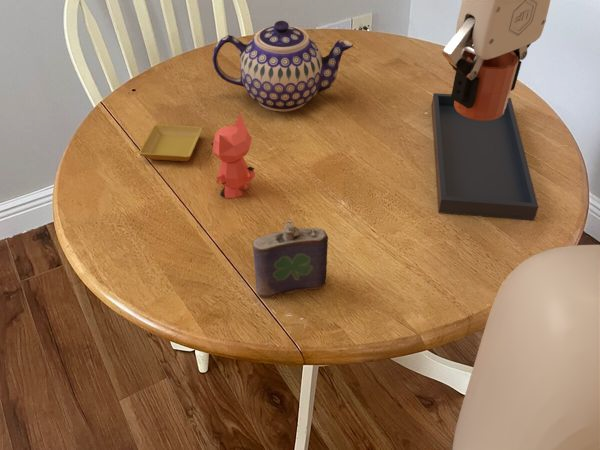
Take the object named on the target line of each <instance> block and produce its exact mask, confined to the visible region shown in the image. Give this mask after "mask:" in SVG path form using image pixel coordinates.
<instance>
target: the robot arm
mask: <svg viewBox="0 0 600 450" xmlns="http://www.w3.org/2000/svg"><path fill="white" fill-rule="evenodd" d="M550 4H551V0H461V4H460V9H459V12H458V18H457V24H456V28H455V33H454V35H453V36H452V38H451V39H450V40H449V42H448V43H447V44H446V46H444V48H443V50H442V56H443V57H444V58H445V60H446V61H447V62H448V63H449V65H450V67H452V71H454V72H455V74H454V78H453V84H452V90H451V94H452V95H451V97H452V99H453V100H455V101H457V102H458V103H460V104H461V105H463V106H465V107H466V108H468V109H469V108H471V107H473V105H474V102H475V97H476V93H477V89H478V84H479V79H480V78H478V77H476V76H477V74H478V72H479V70H480V68H481V66H482V64H483V62H484V60H488V59H492V58H495V57H498V56H500V55H503V54H506V53H508V52H511V51H514V53H515V54H516V55H517V56H518V60H519V62H518V65H517V69H516V73H515V76H514V80H513V84H512V87H511V91H510V92H512V91H514V90H515V87H516V84H517V81H518V76H519V74H520V70H521V66H522V61H524V60H525V59H526V57H527V56H528V49H529V47H530V46H531V45H532V44H533V43H535V42H537V40H539V39H540V38H541V36H542V34H543V31H544V28H545V24H546V23H547V17H548V13H549V10H550V9H549V8H550ZM473 46H474V47H473ZM470 53H471V54H473V55H475V58H474V60H473V62H472V64H471V65H470V64H469V63H468V62H467V58H468V56H469V54H470ZM476 353H477V354H476V357H475V360H474V364H473V367H472V370H471V374H470V376H469V377H470V378H469V381H468V384H467V387H466V389H465V390H466V391H465V394H464V396H463V401H462V404H461V407H460V411H459V415H458V419H457V422H456V425H455V431H454V435H453V442H452V447H451V448H452V450H600V244H578V245H566V246H565V245H564V246H558V247H553V248H549V249H546V250H543V251H540V252H537V253H536V254H533V255H531V256H529V257H528V258H526V259H524V260H523V261H522V262H520V263H519V264H518V265H517V266H516V267H515V268H514V269H513V270H512V271H511V272H510V273H509V274H508V275H507V276H506V278H505V279H504V280H503V282H502V283H501V285H500V287H499V289H498V291H497V293H496V295H495V298H494V300H493V302H492V306H491V308H490V311H489V313H488V317H487V320H486V322H485V327H484V329H483V333H482V337H481V340H480V343H479V347H478V350H477V352H476Z"/></svg>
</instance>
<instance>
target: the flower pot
mask: <svg viewBox="0 0 600 450" xmlns="http://www.w3.org/2000/svg"><path fill="white" fill-rule="evenodd" d="M472 46H473V45H472ZM473 47H474V46H473ZM474 58H475V55H473V54H471V53H470V54H469V56H468V58H467V62H468V63H469V64H470V65H471V64H472V62H473V60H474ZM518 62H519V60H518V56H517V55H516V54H515V53H514V51H511V52H508V53H506V54H503V55H500V56H498V57H495V58H492V59H488V60H484V62H483V64H482V66H481V68H480V70H479V72H478V74H477V76H476V77H478V78H480V79H479V84H478V89H477V93H476V97H475V102H474V105H473V107H471V108H469V109H468V108H466V107H465V106H463V105H461V104H460V103H458V102H457V101H455V102H454V107H455V109H456V111H457V112H458V113H460V114H461V115H463V116H464V117H467V118H469V119H473V120H478V121H490V120H495V119H498V118H499V117H501V116H502V115H503V114H504V111H505V109H506V106H507V102H508V98H510V95H511V92H512V91H511V87H512V84H513V80H514V76H515V73H516V69H517V65H518Z"/></svg>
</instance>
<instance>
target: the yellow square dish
mask: <svg viewBox="0 0 600 450" xmlns="http://www.w3.org/2000/svg"><path fill="white" fill-rule="evenodd" d="M203 130H204V128H203V127H202V126H195V125H179V124H178V125H176V124H163V123H156V124H154V125H153V126H152V128H151V130H150V132H149V133H148V135H147V136H146V139H145V140H144V143H143V144H142V146H141V148H140V150H139V151H138V154H139V155H140V156H142V157H144V158H146V159H149V160H153V161H154V160H155V161H156V160H157V161H173V162H174V161H175V162H187V161H189V160H190V159H191V157H192V155H193V152H194V150H195V148H196V146H197V144H198V141H199V138H200V136H201V134H202V132H203Z"/></svg>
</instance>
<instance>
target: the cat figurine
mask: <svg viewBox="0 0 600 450" xmlns="http://www.w3.org/2000/svg"><path fill="white" fill-rule="evenodd" d="M252 140H253V139H252V136H251V135H250V133H249V132H248V129H247V127H246V124H245V121H244V119H243V116H242V114H241V113H239V115H238V117H237V119H236V120H235V122H234V124H233V125H226V126H223V127H221V128H220V129H218V130H216V132H215V136H214V138H213V141H212V142H211V146H212V147H211V148H210V149H208V151H207V153H206V155H208V154H209V156H208V158H207V160H209V159H210V156H211V153H213V154H214V155H215V157H216V158H217V159H218V160H220V164H219V169H218V174H217V177H216V182H217V184H220V185H223V186H225V187H224V188H223V189H222V190H221V191H220V194H219V196H220V197H222V198H224V199H237V198H240V197H243V192H242V191H241V190H247V189H249V186H248V183H251V182H252V181H253V179H254V178H255V176H256V173H255V167H252V166H248V164H247V162H246V160H245V159H244V157H245V156H247V154H248V153H249V151H250V148H251V144H252Z"/></svg>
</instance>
